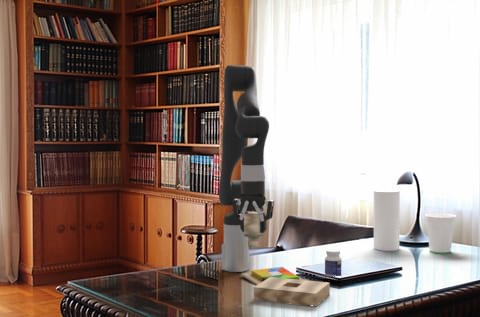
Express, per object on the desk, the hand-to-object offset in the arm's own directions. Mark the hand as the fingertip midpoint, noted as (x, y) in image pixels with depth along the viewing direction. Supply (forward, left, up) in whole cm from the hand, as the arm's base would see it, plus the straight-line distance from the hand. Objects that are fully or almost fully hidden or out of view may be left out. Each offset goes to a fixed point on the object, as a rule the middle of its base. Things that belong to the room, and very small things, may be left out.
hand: (253, 232), depth 205 cm
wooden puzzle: (-1, +19, -21) cm, 28 cm away
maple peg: (0, 0, -5) cm, 5 cm away
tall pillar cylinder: (+24, +88, -20) cm, 94 cm away
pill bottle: (+18, +28, -20) cm, 39 cm away
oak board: (+13, 0, -20) cm, 24 cm away
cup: (+46, +89, -20) cm, 102 cm away
